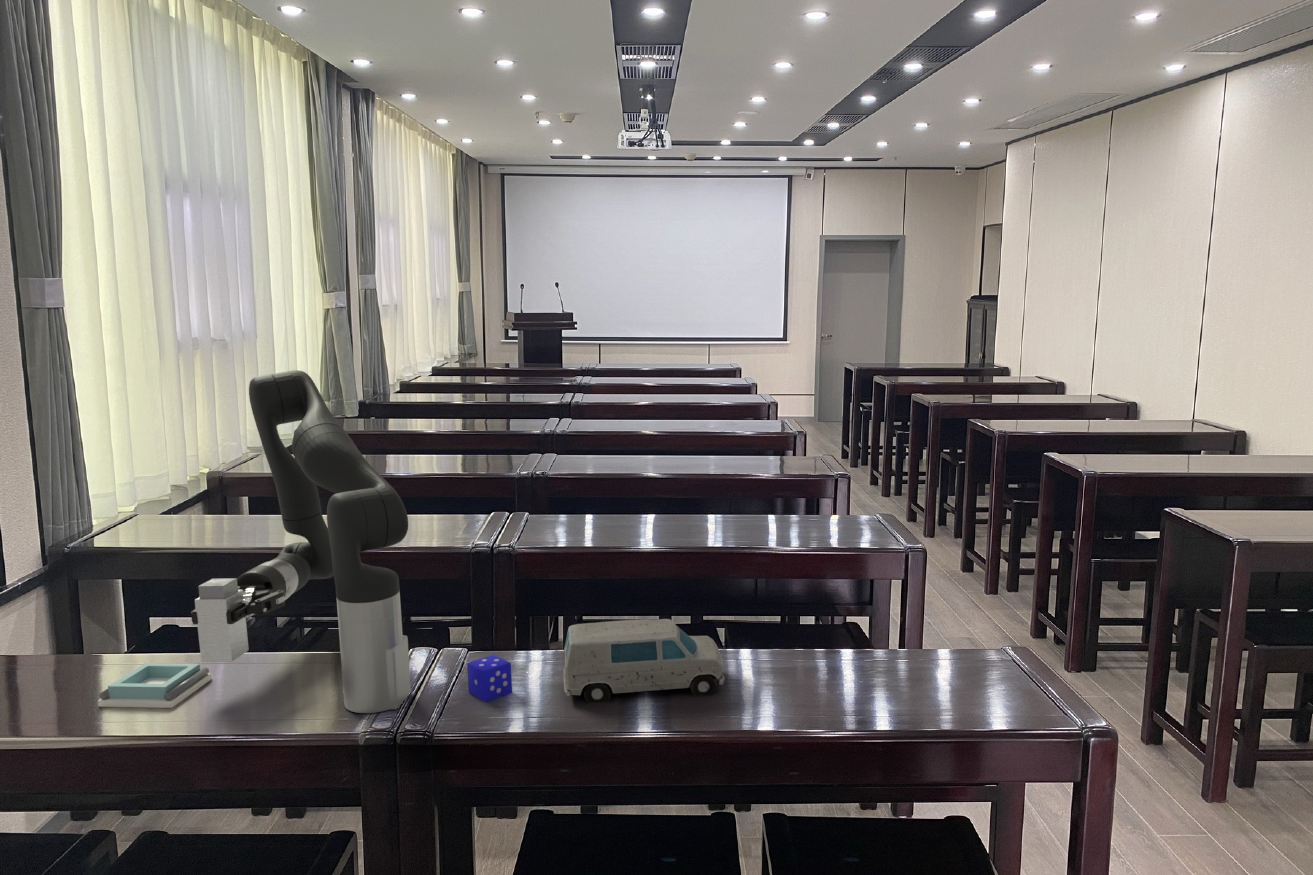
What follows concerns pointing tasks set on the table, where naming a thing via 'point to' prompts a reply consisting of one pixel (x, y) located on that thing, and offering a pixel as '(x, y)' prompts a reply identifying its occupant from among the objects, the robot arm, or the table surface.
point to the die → (489, 677)
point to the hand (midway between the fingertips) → (211, 618)
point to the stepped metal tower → (220, 621)
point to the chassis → (155, 686)
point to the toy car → (638, 659)
